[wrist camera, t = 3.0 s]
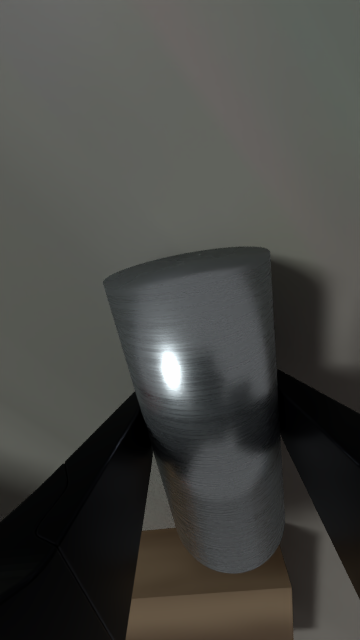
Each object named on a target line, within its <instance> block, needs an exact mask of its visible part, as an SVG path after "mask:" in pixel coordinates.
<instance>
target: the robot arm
mask: <svg viewBox="0 0 360 640" xmlns="http://www.w3.org/2000/svg"><path fill="white" fill-rule="evenodd" d="M277 384H278V402H279V420H280V433H281V436H282V439H283V441H284V443H285V446H286V448H287V450H288V452H289V454H290V456H291V458H292V460H293V462H294V464H295V466H296V468H297V471H298V473H299V475H300V477H301V479H302V481H303V483H304V485H305V487H306V489H307V491H308V493H309V495H310V497H311V499H312V502H313V504H314V506H315V508H316V510H317V512H318V514H319V516H320V518H321V520H322V522H323V524H324V526H325V528H326V531H327V533H328V535H329V537H330V539H331V541H332V543H333V545H334V547H335V549H336V551H337V553H338V555H339V557H340V559H341V562H342V564H343V566H344V568H345V570H346V572H347V574H348V576H349V578H350V580H351V582H352V584H353V586H354V588H355V591H356V593H357V595H358V597H359V599H360V414H359V413H357V412H356V411H354V410H352V409H350V408H348V407H346V406H345V405H343V404H341V403H339V402H337V401H335V400H334V399H332V398H330V397H328V396H326V395H324V394H323V393H321V392H319V391H317V390H315V389H313V388H312V387H310V386H308V385H306V384H304V383H302V382H301V381H299V380H297V379H295V378H293V377H291V376H289V375H288V374H286V373H284V372H282V371H280V370H277ZM152 457H153V449H152V445H151V442H150V439H149V435H148V432H147V429H146V425H145V422H144V419H143V415H142V412H141V409H140V405H139V402H138V399H137V395H136V392H134V393H133V394H132V395H131V396H130V397H129V398H128V399H127V400H126V401H125V402H124V403H123V404H122V405H121V406H120V407H119V408H118V409H117V410H116V411H115V412H114V413H113V414H112V415H111V416H110V417H109V418H108V419H107V420H106V421H105V422H104V423H103V424H102V425H101V426H100V427H99V428H98V429H97V430H96V431H95V432H94V433H93V434H92V435H91V436H90V437H89V438H88V439H87V440H86V441H85V442H84V443H83V444H82V445H81V446H80V447H79V448H78V449H77V450H76V451H75V452H74V453H73V454H72V455H71V456H70V457H69V458H68V459H67V460H66V461H65V464H62V465H61V466H60V467H59V468H58V469H57V470H56V471H55V472H54V473H53V474H52V475H51V476H50V477H49V478H48V479H47V480H46V481H45V482H44V483H43V484H42V485H41V486H40V487H39V488H38V489H37V490H36V491H34V492H33V493H32V494H31V495H30V496H29V497H28V498H27V499H26V500H25V501H23V502H22V503H21V504H20V505H19V506H18V507H17V508H16V509H15V510H13V511H12V512H11V513H10V514H9V515H8V516H7V517H6V518H4V519H3V520H2V521H1V522H0V640H126V633H127V627H128V620H129V613H130V606H131V600H132V593H133V586H134V580H135V573H136V566H137V559H138V553H139V546H140V539H141V532H142V526H143V519H144V512H145V505H146V499H147V492H148V485H149V478H150V472H151V465H152Z"/></svg>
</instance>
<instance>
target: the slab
mask: <svg viewBox="0 0 360 640" xmlns="http://www.w3.org/2000/svg"><path fill="white" fill-rule="evenodd" d="M126 640H293V610H292V587H291V583H290V580H289V576H288V573H287V569H286V566H285V562H284V559H283V556H282V552H281V549H280V545H279V546H278V548H277V549H276V551H275V552H274V554H273V555H272V556H271V557H270V558H269V559H268V560H267V561H266V562H265V563H263V564H262V565H261V566H259V567H257V568H255V569H253V570H251V571H247V572H244V573H237V574H230V573H222V572H218V571H215V570H212V569H210V568H208V567H206V566H204V565H203V564H201V563H200V562H199V561H197V560H196V559H195V558H194V557H193V556H192V555H191V554H190V553H189V552H188V551H187V549H186V548H185V546H184V545H183V543H182V541H181V539H180V537H179V535H178V532H177V529H176V528H168V529H158V530H147V531H142V532H141V539H140V546H139V553H138V559H137V566H136V573H135V580H134V586H133V593H132V600H131V606H130V613H129V620H128V627H127V633H126Z"/></svg>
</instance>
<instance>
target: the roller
mask: <svg viewBox="0 0 360 640" xmlns="http://www.w3.org/2000/svg"><path fill="white" fill-rule="evenodd" d="M103 285H104V288H105V292H106V295H107V298H108V302H109V305H110V308H111V312H112V315H113V318H114V322H115V325H116V328H117V332H118V335H119V339H120V342H121V345H122V349H123V352H124V355H125V359H126V362H127V365H128V369H129V372H130V375H131V379H132V382H133V385H134V389H135V392H136V395H137V399H138V402H139V405H140V409H141V412H142V415H143V419H144V422H145V425H146V429H147V432H148V435H149V439H150V442H151V445H152V449H153V452H154V455H155V459H156V462H157V465H158V469H159V472H160V476H161V479H162V482H163V486H164V489H165V492H166V496H167V499H168V502H169V506H170V509H171V512H172V516H173V519H174V522H175V526H176V529H177V532H178V535H179V537H180V539H181V541H182V543H183V545H184V546H185V548H186V549H187V551H188V552H189V553H190V554H191V555H192V556H193V557H194V558H195V559H196V560H197V561H199V562H200V563H201V564H203V565H204V566H206V567H208V568H210V569H212V570H215V571H218V572H222V573H230V574H237V573H244V572H247V571H251V570H253V569H255V568H257V567H259V566H261V565H262V564H263V563H265V562H266V561H267V560H268V559H269V558H270V557H271V556H272V555H273V554H274V552H275V551H276V549H277V548H278V546H279V544H280V541H281V539H282V536H283V532H284V526H285V509H284V491H283V473H282V456H281V438H280V420H279V402H278V384H277V366H276V349H275V331H274V313H273V295H272V277H271V259H270V251H269V250H268V249H266V248H262V247H228V248H218V249H210V250H203V251H197V252H191V253H185V254H180V255H175V256H170V257H166V258H161V259H157V260H153V261H149V262H146V263H142V264H139V265H136V266H132V267H130V268H127V269H124V270H121V271H119V272H116V273H114V274H112V275H110V276H109V277H107V278H106V279H105V280H104V281H103Z"/></svg>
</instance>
